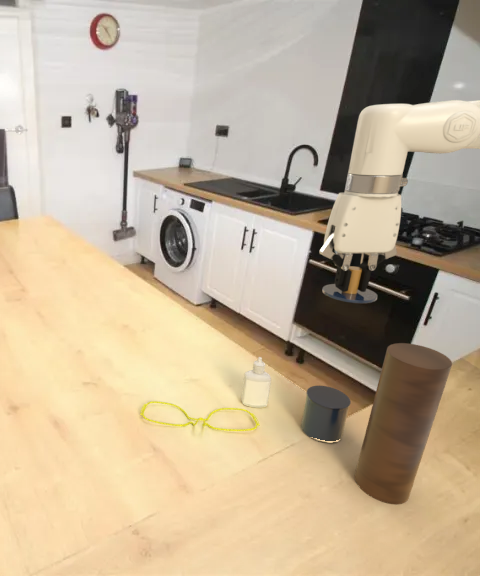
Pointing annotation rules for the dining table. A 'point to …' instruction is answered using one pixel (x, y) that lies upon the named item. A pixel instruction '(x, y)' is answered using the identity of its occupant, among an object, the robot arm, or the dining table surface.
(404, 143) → the robot arm
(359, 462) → the brown wooden cylinder
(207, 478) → the dining table surface
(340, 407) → the canister
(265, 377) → the eye dropper bottle
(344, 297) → the lid
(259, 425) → the glasses
